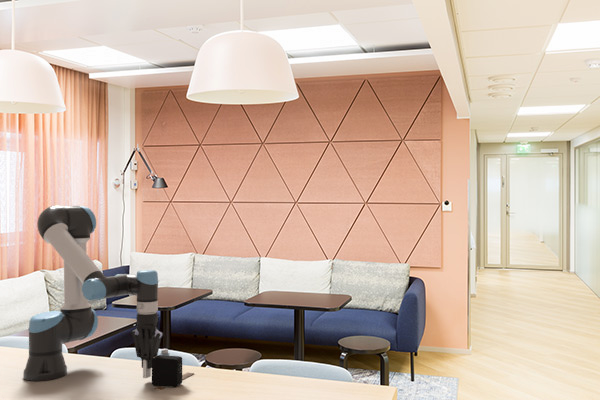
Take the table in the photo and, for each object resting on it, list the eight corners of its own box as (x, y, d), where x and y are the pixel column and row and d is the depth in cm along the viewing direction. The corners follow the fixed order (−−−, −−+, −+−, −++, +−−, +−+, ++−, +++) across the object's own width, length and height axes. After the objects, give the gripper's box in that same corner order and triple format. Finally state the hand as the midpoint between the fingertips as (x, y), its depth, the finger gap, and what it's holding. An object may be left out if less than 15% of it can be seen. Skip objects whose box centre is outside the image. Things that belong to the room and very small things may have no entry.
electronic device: (177, 387, 198) (177, 359, 198) (151, 385, 200) (151, 357, 200) (182, 384, 202) (182, 356, 202) (156, 382, 204) (157, 354, 204)
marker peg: (157, 373, 215) (157, 350, 215) (163, 371, 218) (163, 348, 218) (165, 374, 213) (165, 351, 213) (171, 372, 216) (171, 348, 217)
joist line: (154, 388, 196) (154, 388, 196) (187, 373, 215) (187, 372, 215) (161, 390, 195) (161, 389, 195) (194, 374, 214) (194, 373, 214)
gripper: (126, 313, 204) (125, 377, 203) (155, 315, 199) (155, 382, 198) (139, 309, 210) (139, 372, 210) (168, 312, 206) (167, 376, 205)
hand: (146, 377), depth 204 cm, fingers closed
